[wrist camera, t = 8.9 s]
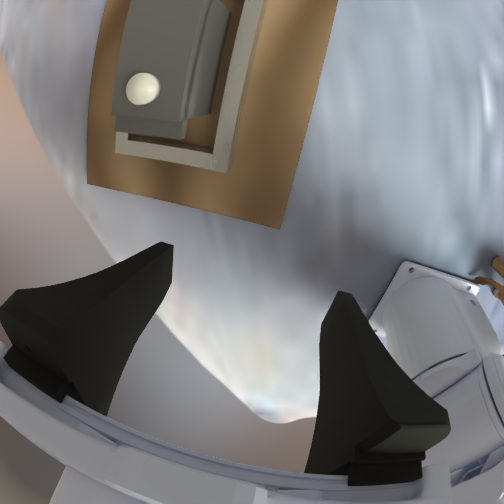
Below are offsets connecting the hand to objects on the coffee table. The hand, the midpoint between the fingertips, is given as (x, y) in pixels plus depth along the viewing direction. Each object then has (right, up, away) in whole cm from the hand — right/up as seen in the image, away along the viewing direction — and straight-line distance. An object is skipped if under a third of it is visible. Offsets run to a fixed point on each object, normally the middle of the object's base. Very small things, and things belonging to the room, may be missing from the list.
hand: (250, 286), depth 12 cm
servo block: (-4, +13, +2) cm, 14 cm away
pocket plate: (-4, +14, +3) cm, 15 cm away
